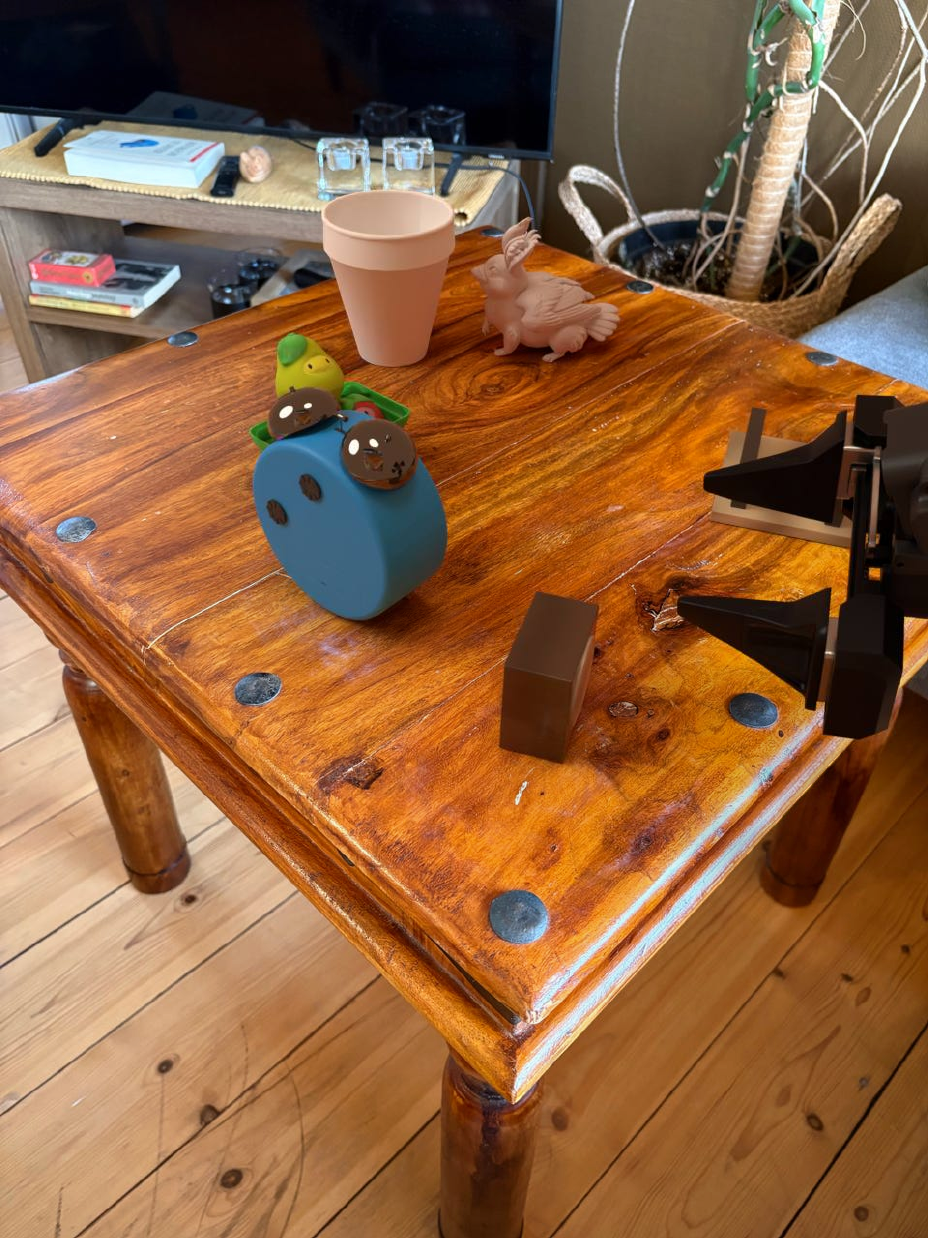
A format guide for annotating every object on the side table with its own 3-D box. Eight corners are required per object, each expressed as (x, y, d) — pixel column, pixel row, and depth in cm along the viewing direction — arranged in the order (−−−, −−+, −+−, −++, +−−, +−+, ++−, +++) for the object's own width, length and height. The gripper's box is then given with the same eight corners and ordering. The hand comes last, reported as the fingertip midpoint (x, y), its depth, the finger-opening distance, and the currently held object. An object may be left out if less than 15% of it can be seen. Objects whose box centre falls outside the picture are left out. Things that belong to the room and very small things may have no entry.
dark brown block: (590, 686, 64) (602, 604, 60) (564, 765, 59) (575, 683, 55) (528, 671, 65) (535, 590, 61) (498, 747, 60) (503, 665, 56)
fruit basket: (313, 521, 77) (300, 391, 70) (242, 477, 82) (222, 350, 74) (416, 464, 84) (414, 339, 76) (345, 426, 88) (337, 304, 81)
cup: (306, 360, 97) (292, 218, 88) (375, 313, 105) (369, 179, 96) (412, 392, 93) (410, 247, 84) (476, 341, 101) (480, 203, 92)
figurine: (463, 333, 102) (465, 208, 94) (604, 324, 104) (618, 201, 96) (477, 370, 96) (481, 240, 88) (626, 360, 98) (643, 232, 90)
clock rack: (858, 462, 85) (871, 421, 82) (853, 549, 76) (868, 506, 73) (729, 439, 88) (738, 398, 85) (709, 520, 78) (718, 478, 76)
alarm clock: (450, 612, 70) (452, 424, 60) (389, 657, 66) (380, 466, 56) (322, 537, 76) (304, 356, 66) (260, 575, 72) (231, 390, 62)
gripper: (1058, 307, 46) (718, 303, 51) (1096, 601, 35) (657, 560, 40) (1002, 485, 55) (713, 467, 60) (1019, 769, 44) (662, 719, 48)
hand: (691, 540), depth 52 cm, fingers open, 9 cm apart
